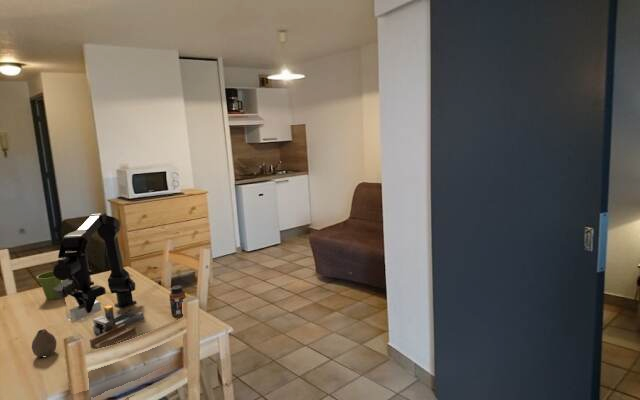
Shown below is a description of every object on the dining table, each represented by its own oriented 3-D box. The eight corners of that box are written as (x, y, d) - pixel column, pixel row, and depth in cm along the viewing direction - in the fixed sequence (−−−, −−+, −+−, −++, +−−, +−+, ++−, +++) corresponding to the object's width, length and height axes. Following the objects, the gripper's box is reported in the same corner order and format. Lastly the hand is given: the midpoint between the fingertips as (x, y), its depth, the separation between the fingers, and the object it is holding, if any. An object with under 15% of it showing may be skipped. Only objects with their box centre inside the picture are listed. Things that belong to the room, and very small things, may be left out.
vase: (41, 350, 142) (37, 326, 141) (62, 348, 143) (57, 325, 141) (29, 361, 135) (24, 336, 134) (51, 359, 136) (46, 334, 134)
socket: (93, 331, 154) (91, 319, 153) (132, 314, 167) (130, 303, 166) (105, 336, 150) (103, 323, 149) (144, 318, 163) (142, 306, 162)
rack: (90, 345, 143) (89, 339, 143) (124, 329, 154) (123, 323, 154) (102, 350, 140) (101, 344, 139) (136, 333, 150) (135, 327, 150)
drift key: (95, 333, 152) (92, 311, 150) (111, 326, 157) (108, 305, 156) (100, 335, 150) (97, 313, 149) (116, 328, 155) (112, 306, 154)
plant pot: (75, 294, 192) (71, 271, 191) (48, 304, 183) (44, 280, 181) (62, 290, 199) (59, 268, 197) (35, 299, 189) (31, 276, 187)
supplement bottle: (182, 317, 162) (179, 290, 160) (168, 316, 163) (165, 289, 161) (189, 310, 167) (186, 284, 166) (176, 310, 169) (173, 284, 167)
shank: (71, 318, 143) (69, 309, 142) (96, 308, 150) (95, 299, 149) (75, 320, 141) (74, 311, 140) (101, 310, 148) (99, 301, 148)
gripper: (41, 273, 141) (49, 315, 144) (69, 281, 131) (77, 326, 134) (74, 263, 150) (81, 303, 153) (103, 270, 140) (109, 313, 143)
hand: (86, 311), depth 145 cm, fingers closed on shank, 3 cm apart
